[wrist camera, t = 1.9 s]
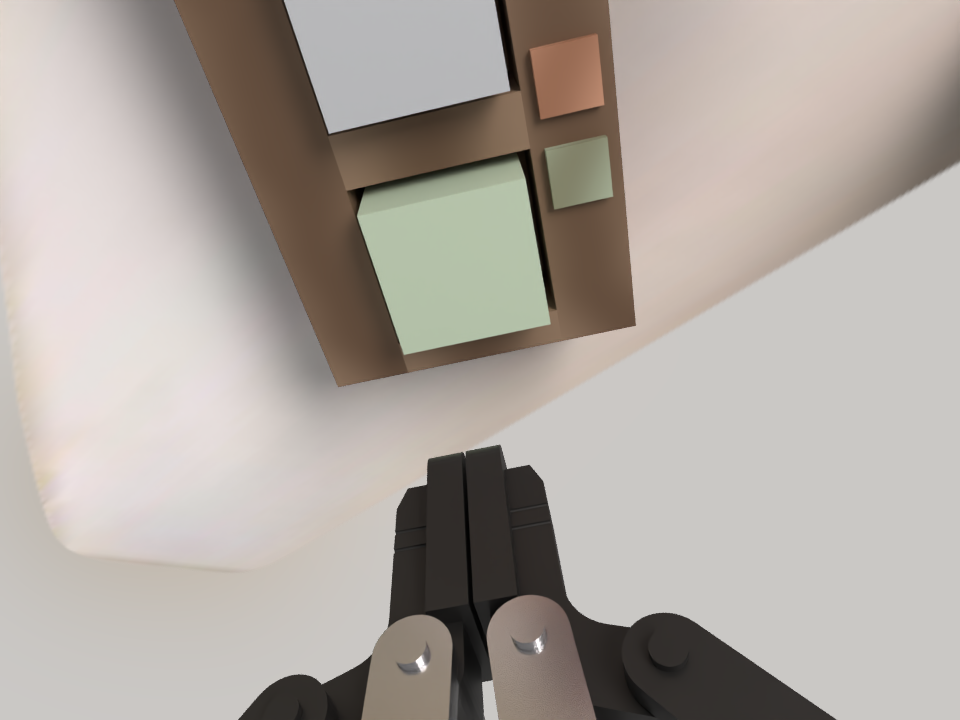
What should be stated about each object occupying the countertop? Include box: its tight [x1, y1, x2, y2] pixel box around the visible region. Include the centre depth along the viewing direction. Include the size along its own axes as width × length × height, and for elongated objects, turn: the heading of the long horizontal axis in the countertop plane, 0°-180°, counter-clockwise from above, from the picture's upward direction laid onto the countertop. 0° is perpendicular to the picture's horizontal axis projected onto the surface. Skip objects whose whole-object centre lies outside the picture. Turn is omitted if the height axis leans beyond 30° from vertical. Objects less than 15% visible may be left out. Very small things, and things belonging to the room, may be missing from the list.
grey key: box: [284, 0, 510, 134], centre depth 18 cm, size 5×5×3 cm
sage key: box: [357, 152, 551, 355], centre depth 23 cm, size 5×5×3 cm
